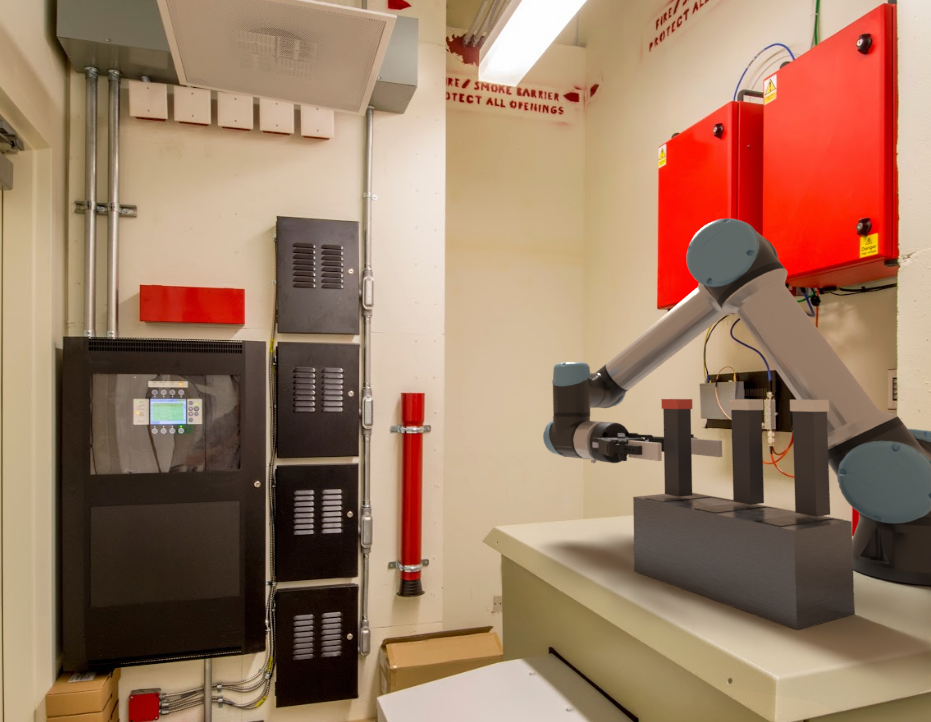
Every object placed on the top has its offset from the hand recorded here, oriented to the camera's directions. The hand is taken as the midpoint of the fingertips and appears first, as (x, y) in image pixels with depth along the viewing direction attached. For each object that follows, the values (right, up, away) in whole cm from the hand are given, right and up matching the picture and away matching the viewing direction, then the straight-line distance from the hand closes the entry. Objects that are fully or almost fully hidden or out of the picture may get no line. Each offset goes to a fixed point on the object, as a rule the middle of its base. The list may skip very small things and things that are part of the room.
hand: (691, 450), depth 96 cm
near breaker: (+12, -7, -14) cm, 19 cm away
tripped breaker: (-1, -8, +2) cm, 8 cm away
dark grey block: (+3, -19, -7) cm, 21 cm away
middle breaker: (+7, -7, -5) cm, 11 cm away
